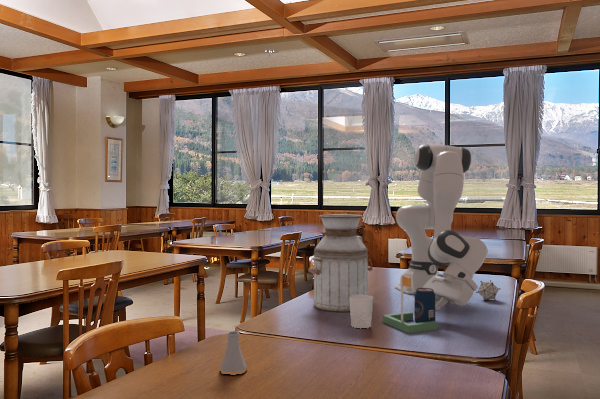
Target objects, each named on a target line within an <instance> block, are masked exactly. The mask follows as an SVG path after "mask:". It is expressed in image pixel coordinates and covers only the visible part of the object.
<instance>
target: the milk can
mask: <svg viewBox="0 0 600 399" xmlns="http://www.w3.org/2000/svg"><path fill="white" fill-rule="evenodd" d="M317 217H318V218H320V219H321V222H322V225H323V227H324V233H325V234H324V236H323V237H322V238H321V240H320V241H319V242H318V244H317V245H316V246H315V247H314V250H313V257H312V258H311V259H310V262H309V267H308V269H307V271H308V273H311V274H313V306H314V308H316V309H319V310H323V311H327V312H328V311H329V312H338V313H340V312H341V313H343V312H345V313H348V312H349V311H350V301H349V297H350V296H351V295H369V290H368V289H369V288H368V287H369V285H368V283H369V281H368V280H369V279H368V277H369V276H368V274H369V272H372V271H373V262H372V261H371V259H370V257H369V255H368V252H369V249H368V248H367V247H366V246H365V244H364V243H363V241H362V242H361V240H360V239H359V238H358V237H357V236H358V235H357V229H358V225H359V222H360V221H361V219H362V218H363V217H364V215H362V214H347V213H346V214H340V213H337V214H336V213H335V214H334V213H333V214H320V215H318V216H317ZM356 235H357V236H356ZM312 261H313V267H311V264H312ZM368 262H370V265H371V266H369V264H368Z"/></svg>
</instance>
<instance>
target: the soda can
mask: <svg viewBox="0 0 600 399" xmlns="http://www.w3.org/2000/svg"><path fill="white" fill-rule="evenodd" d="M430 321H436V310H435V293H434V290H433V289H430V288H417V289H416V292H415V294H414V322H415V323H422V322H430Z"/></svg>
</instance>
